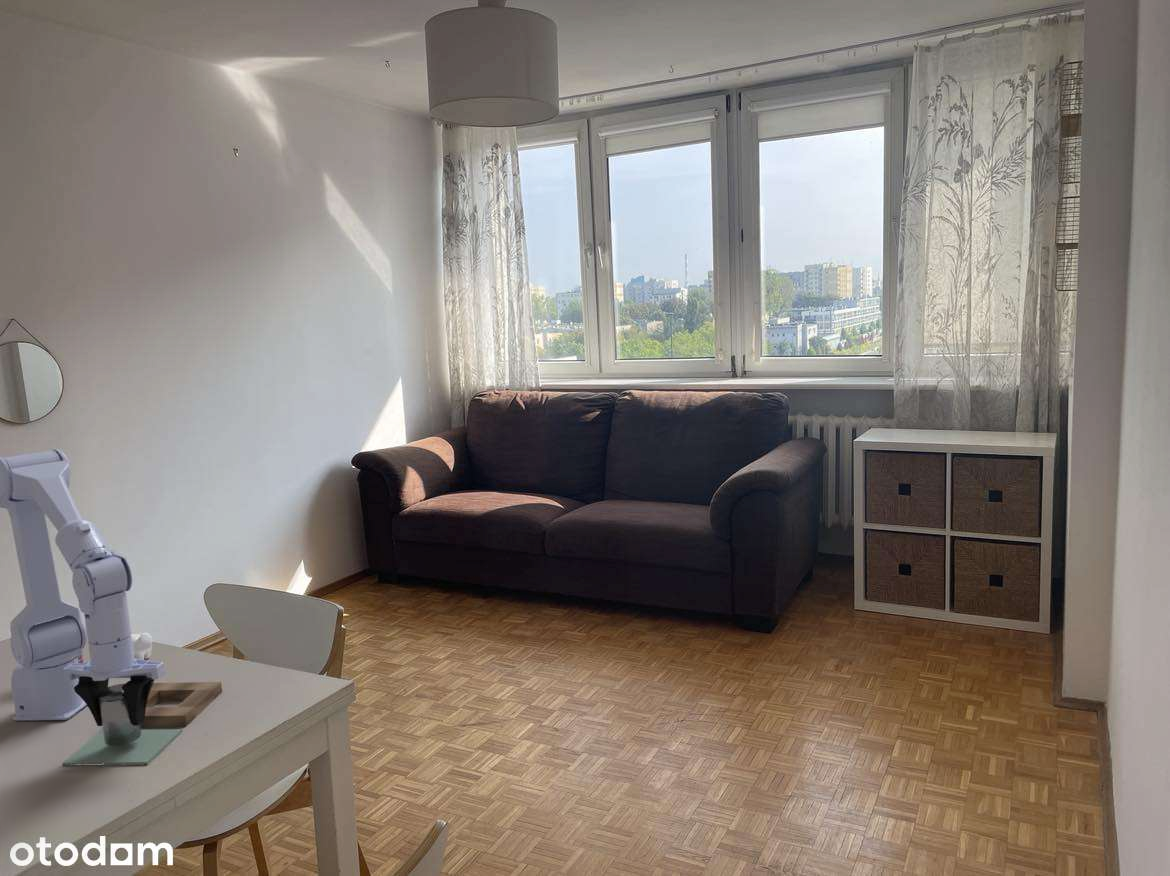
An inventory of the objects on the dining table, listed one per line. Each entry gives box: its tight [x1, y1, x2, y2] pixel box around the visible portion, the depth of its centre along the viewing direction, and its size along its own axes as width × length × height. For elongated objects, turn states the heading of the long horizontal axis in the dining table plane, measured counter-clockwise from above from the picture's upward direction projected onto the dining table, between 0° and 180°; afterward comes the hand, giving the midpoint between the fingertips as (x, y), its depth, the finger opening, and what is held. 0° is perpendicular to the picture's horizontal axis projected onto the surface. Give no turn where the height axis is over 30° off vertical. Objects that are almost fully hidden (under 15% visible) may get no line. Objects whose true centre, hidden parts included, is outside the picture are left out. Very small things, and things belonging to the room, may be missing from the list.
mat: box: [61, 728, 183, 766], centre depth 135 cm, size 13×10×1 cm
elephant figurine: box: [131, 632, 153, 660], centre depth 168 cm, size 7×8×6 cm
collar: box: [140, 681, 223, 728], centre depth 147 cm, size 12×12×2 cm
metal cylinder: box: [98, 683, 142, 746], centre depth 134 cm, size 5×5×8 cm
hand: (121, 722), depth 134 cm, fingers closed on metal cylinder, 5 cm apart
